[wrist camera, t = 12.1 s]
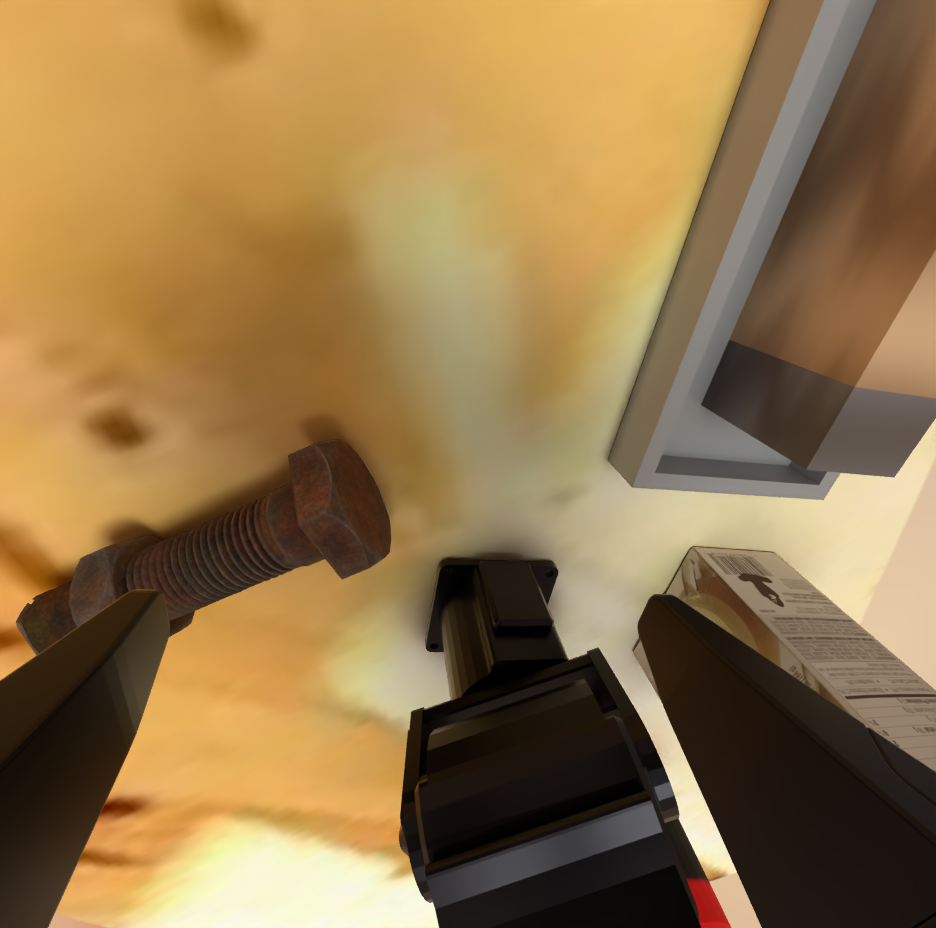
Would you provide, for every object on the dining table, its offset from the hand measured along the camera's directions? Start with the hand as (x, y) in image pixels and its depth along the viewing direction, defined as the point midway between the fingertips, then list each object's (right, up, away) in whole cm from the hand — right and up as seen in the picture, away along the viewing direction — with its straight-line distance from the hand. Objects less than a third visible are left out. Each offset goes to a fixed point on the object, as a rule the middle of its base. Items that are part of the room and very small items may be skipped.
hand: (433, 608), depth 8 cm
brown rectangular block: (+14, +11, +10) cm, 21 cm away
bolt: (-11, 0, +13) cm, 17 cm away
